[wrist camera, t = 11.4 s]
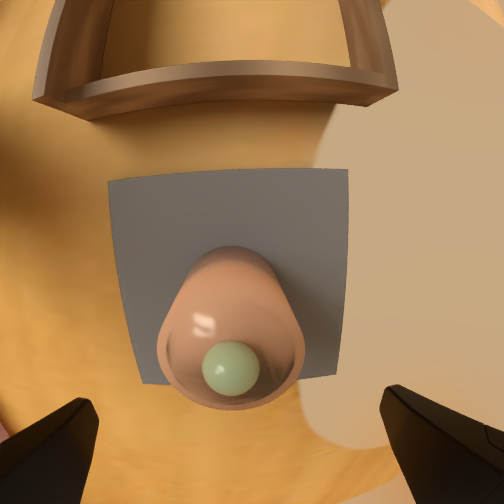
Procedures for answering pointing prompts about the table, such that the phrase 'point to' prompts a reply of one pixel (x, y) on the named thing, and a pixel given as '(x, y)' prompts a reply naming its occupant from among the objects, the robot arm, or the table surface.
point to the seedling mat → (234, 234)
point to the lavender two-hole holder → (3, 433)
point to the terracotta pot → (231, 333)
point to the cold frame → (204, 68)
